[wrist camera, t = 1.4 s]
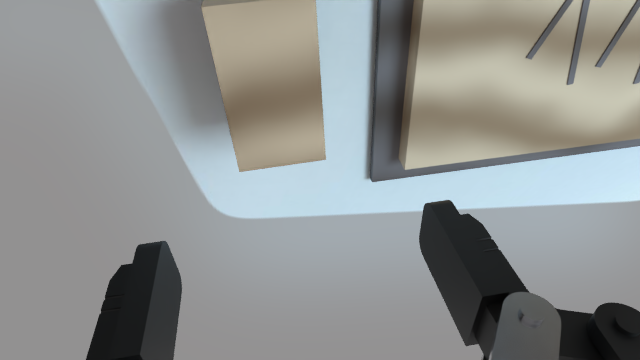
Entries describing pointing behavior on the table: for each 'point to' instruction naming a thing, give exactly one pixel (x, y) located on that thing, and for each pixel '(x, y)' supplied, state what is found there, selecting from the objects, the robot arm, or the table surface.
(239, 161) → the block
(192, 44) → the table surface
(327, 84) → the table surface
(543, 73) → the board
